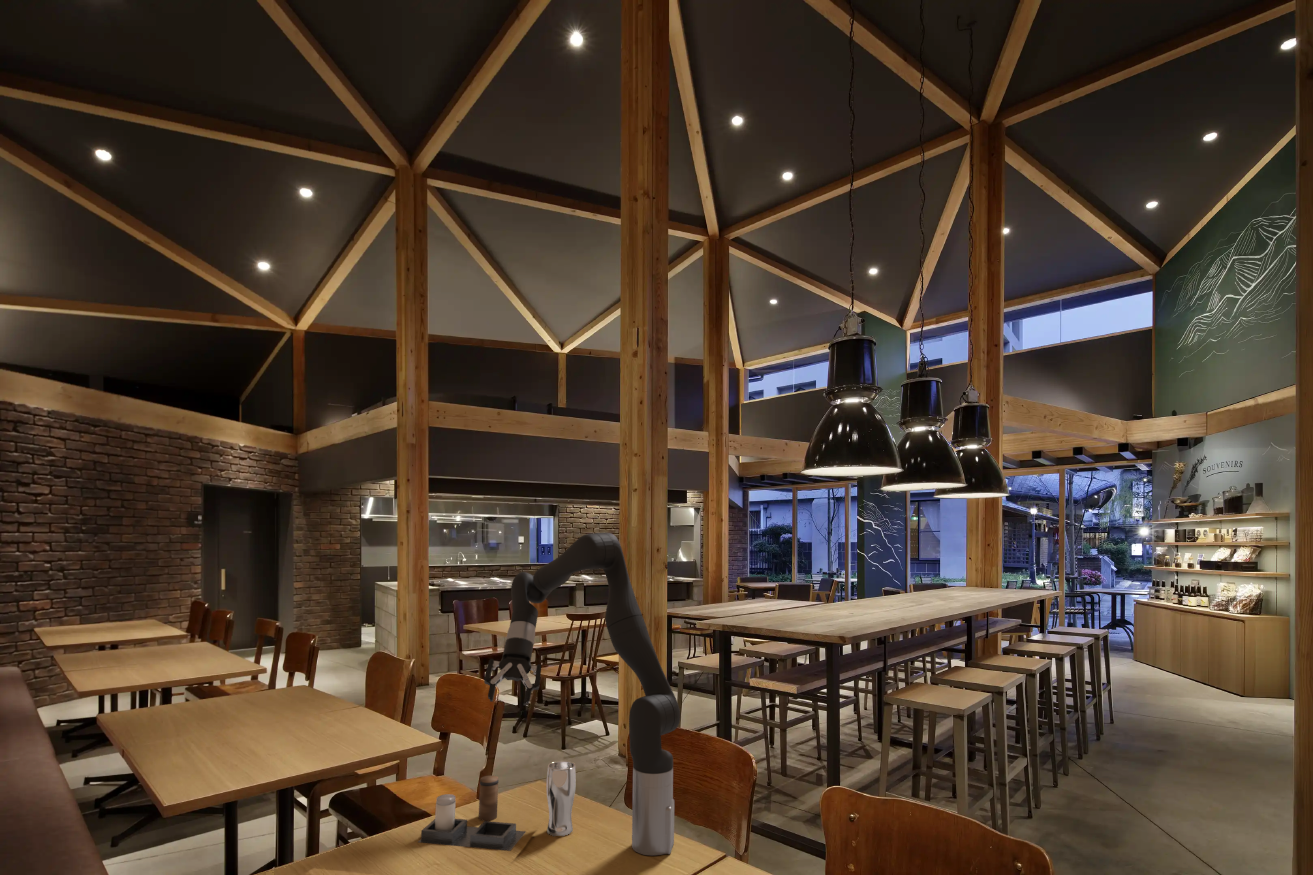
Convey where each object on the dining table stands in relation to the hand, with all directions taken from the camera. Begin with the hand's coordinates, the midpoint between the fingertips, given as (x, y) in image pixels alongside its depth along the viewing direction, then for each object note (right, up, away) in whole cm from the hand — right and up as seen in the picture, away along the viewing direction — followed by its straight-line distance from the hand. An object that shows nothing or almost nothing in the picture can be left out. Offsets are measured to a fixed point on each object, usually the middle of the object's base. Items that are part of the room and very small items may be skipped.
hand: (508, 702), depth 179 cm
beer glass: (+15, -26, -11) cm, 32 cm away
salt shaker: (-11, -24, -16) cm, 31 cm away
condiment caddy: (-4, -25, -17) cm, 31 cm away
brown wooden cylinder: (-4, -27, -6) cm, 28 cm away
